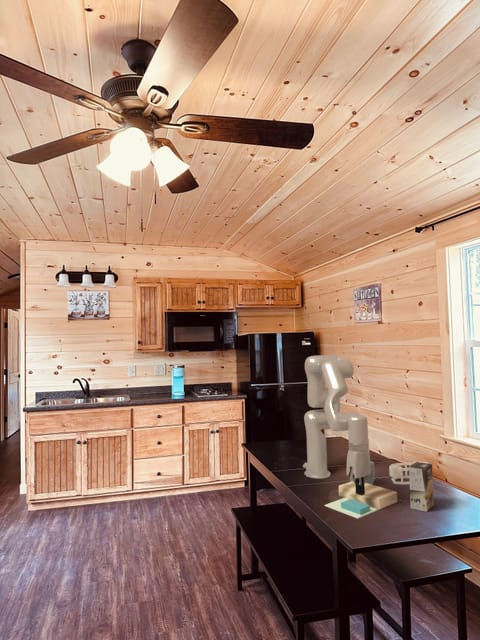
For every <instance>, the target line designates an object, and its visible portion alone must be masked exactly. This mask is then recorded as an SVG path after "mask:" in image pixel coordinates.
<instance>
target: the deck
mask: <svg viewBox="0 0 480 640" xmlns="http://www.w3.org/2000/svg"><path fill="white" fill-rule="evenodd" d="M364 485H365V495H362V496H361V495H358V494H356V488H355V483H354V482H352V481H349V482H346V483H343V484H340V485H338V496H339V497H342V498H347V499H352V500H355V501H358V502H361V503H364V504H367V505H370V507H373V508H376V509H378V511H379V510H382V509H384V508H387V507H389V506H392V505H394V504H396V503H398V492H397V491H395V490H391V489H388V488H385V487H381V486H379V485H378V486H377V485H375V484H368V483H365V484H364Z"/></svg>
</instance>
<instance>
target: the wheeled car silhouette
mask: <svg viewBox="0 0 480 640" xmlns="http://www.w3.org/2000/svg"><path fill="white" fill-rule="evenodd" d="M416 462H417V461H412V462H411V461H410V462H397V463H392V464H390V465H389V466H388V469H389V470H388V472H389V476H390V477H391V481H392V484H394V485H410V481H404V479H410V478H409V475H408V472H409V467H408V466H411V465H412V464H414V463H416ZM419 462H420V463H428V464H429V462H428V461H427V462H426V461H419ZM402 466H404V467H402ZM404 472H405V474H404ZM399 479H400V481H396V480H399Z"/></svg>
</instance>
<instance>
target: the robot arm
mask: <svg viewBox="0 0 480 640" xmlns="http://www.w3.org/2000/svg"><path fill="white" fill-rule="evenodd" d="M354 370H355V369H354V366H353V363H352V362H351V360H349V359H347V358H346V357H343V356H342V355H337V354H334V355H333V354H331V355H328V354H327V355H311V356H308V357H306V359H305V362H304V371H305V374H306V379H307V396H306V397H307V404H308V406H309V407H310V408H313V409H312V410H309V411H307V412H305V414H304V417H303V419H304V420H303V421H304V422H303V423H304V425H305V426H304V427H305V432H306V433H305V434H306V455H307V462H304V464H303V465H302V468H305V469H306V470H305V471H304V476H305V475H306V477H307V478H311V479H316V480H317V479H327V478H329V477H331V472H330V471H329V470H328V455H327V454H328V453H327V452H328V451H327V449H328V448H327V438H326V436H325V434H324V433H323V432H322V430H329V429H330V430H332V431H334V432H346V431H347V432H348V451H347V457H346V476H347V477H349V482H354V483H355V488H356V494H358V495H361V496H362V495H365V485H364V484H365V483H366V478H367V477H369V474H370V473H371V462H370V461H371V455H370V454H369V452H370V448H369V449H368V439H369V428H368V427H369V426H368V424H369V423H368V418H367V416H366V415H363V414H362V415H361V414H360V413H359V412H357V411H343V412H341V398H342V397H344V396H346V395H347V393H348V392H349V388H348V385H347V382H346V379H350V378H352V377H353V376H354V372H355V371H354ZM319 408H324V409H319Z"/></svg>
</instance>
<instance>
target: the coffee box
mask: <svg viewBox="0 0 480 640" xmlns="http://www.w3.org/2000/svg"><path fill="white" fill-rule="evenodd" d="M415 462H416V463H414V464H412V465H411V466H410V465H408V468H409V471H408V472H409V473H408V474H409V475H408V476H409V478H408V479H409V482H410V484H409V499H410V503H409V504H410V506H409V507H410V509H412V510H416V511H420V512H425V513H427V512H428V511H429V510H430V509H431V508H432V507H433V506H434V503H435V502H434V483H433V481H434V480H433V477H434V476H433V464H432V463H429V462H428V463H420V462H421V461H415Z"/></svg>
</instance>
